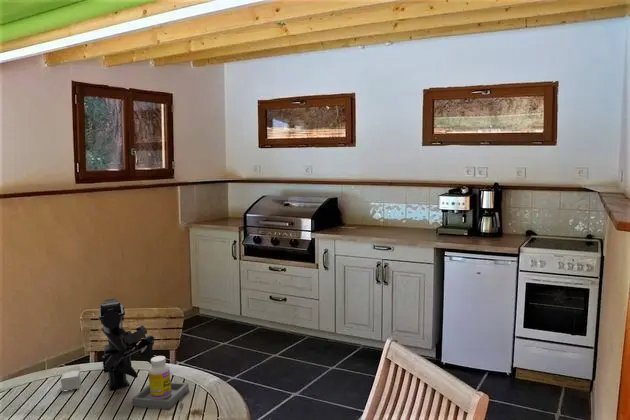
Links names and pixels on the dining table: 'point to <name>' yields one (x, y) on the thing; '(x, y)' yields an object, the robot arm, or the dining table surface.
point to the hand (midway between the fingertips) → (146, 371)
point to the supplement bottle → (159, 378)
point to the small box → (71, 380)
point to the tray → (146, 401)
